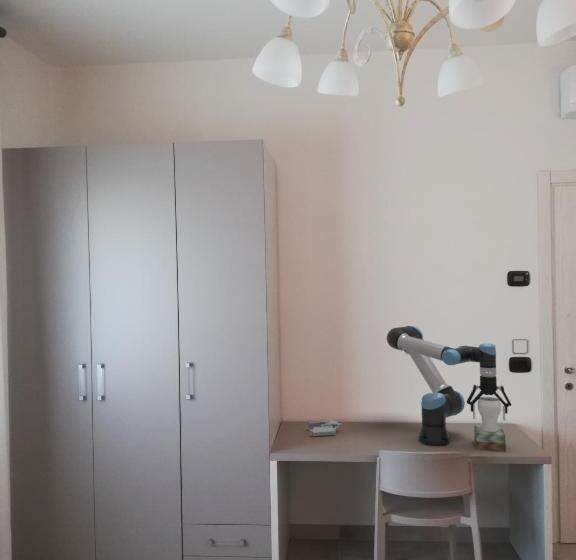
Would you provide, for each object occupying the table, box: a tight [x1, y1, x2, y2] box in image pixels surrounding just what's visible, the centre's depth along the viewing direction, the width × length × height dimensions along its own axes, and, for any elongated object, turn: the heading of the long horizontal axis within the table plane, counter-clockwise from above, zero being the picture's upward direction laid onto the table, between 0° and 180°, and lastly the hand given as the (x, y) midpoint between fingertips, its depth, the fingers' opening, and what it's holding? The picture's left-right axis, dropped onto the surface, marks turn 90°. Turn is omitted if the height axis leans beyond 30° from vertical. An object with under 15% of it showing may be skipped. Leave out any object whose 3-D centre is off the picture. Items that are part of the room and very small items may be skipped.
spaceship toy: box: [303, 418, 343, 437], centre depth 274 cm, size 14×20×6 cm
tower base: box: [473, 424, 507, 453], centre depth 246 cm, size 13×13×8 cm
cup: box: [477, 396, 502, 432], centre depth 246 cm, size 11×11×15 cm
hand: (489, 419), depth 246 cm, fingers open, 13 cm apart
